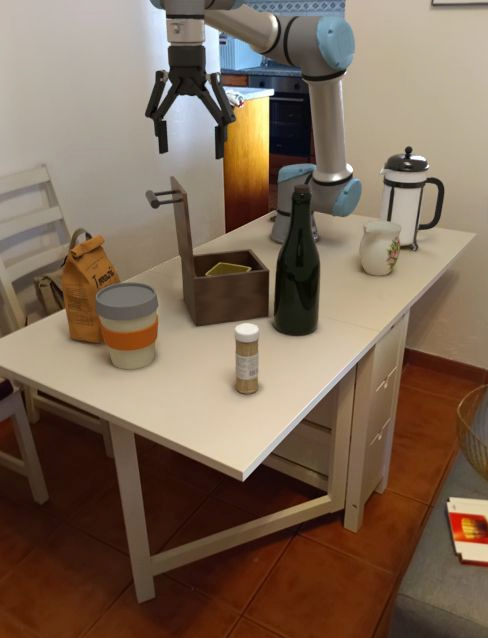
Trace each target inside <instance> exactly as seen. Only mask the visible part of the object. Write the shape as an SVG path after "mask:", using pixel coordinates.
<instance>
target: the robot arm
mask: <svg viewBox="0 0 488 638" xmlns="http://www.w3.org/2000/svg"><path fill="white" fill-rule="evenodd" d="M149 2H150V4H151V5H152V6H153V7H154V8H155V9H158V10H163V11H165V25H166V28H165V29H166V41H167V43H169V44H170V45H168V47H167V64H168V67H169V70H168V71H167V70H165V69H160V70H156V71H155V75H154V76H155V77H154V85H153V86H152V87H153V88H152V91H151V94H150V97H149V100H148V102H147V106H146V109H145V112H144V116H145V118H146V119H151V120H152V121H153V129H154V136H155V137H156V138H157V142H158V154H159V155H164V154H166V153H169V138H168V123H167V122H168V121H167V120H166V119H165V117H166V114H168V111H169V110H170V109H171V107H172V105H173V104H174V103H175V102H176V99H177V98H178V97H179V96H180V97H183V96H189V97H197V99H198V100H200V101H201V103H202V104H203V105H204V107H205V108H206V109H207V111H208V113H209V114H210V116H211V117H212V118H213V119H214V121H215V122H216V124H217V125H215V126H214V146H215V147H214V152H215V153H214V155H215V156H214V157H215V160H216V161H218V160H221V159H223V158H225V143H227V142H228V127H229V125H230V124H233V123H235V122H237V117H236V115H235V112H234V109H233V107H232V105H231V102H230V100H229V98H228V96H227V93H226V90H225V89H224V86H223V82H222V74H221V73H220V71H216V72H211V73H207V70H206V67H207V66H206V65H207V51H206V47H205V45H203V43H205V42H206V26H207V27H210V28H212V29H214V30H216V31H218V32H221V33H223V34H225V35H228V36H229V37H231V38H234V39H236V40H239V41H241V42H242V43H245V44H247V45H248V47H249V48H250V49H251V51H252V52H254V53H257V54H258V55H261V56H262V57H265V58H267V59H269V60H271V61H273V62H276V63H279V64H281V65H284V66H287V67H295V68H300V73H301V79H302V81H304V82H305V83H306V84H308V93H309V100H310V101H309V102H310V103H309V104H310V112H311V113H310V114H311V123H312V132H313V142H314V143H313V144H314V153H315V163H316V164H314V163H296V164H290V165H285V166H282V167H281V168H280V169H279V171H278V177H277V207H274V206H273V207H272V206H271V208H269V211H272V210H273V211H275V212H276V213H277V214H276V215H273V216H270V218H269V220H270V221H272V222H273V225H272V228H271V230H270V231H271V233H270V235H271V236H270V238H271V240H272V241H273V242H275V243H277V244H280V245H282V244H283V242H284V239H285V237H286V234H287V231H288V228H289V223H290V215H291V194H292V191H294V186H295V185H297V184H306V185H309V186H310V191H311V192H312V201H311V226H312V232H313V236H314V240H315V243H316V242H317V241H318V240H319V230H318V226H317V223H316V219H315V212H316V213H321V214H325V215H329V216H332V217H339V218H347V217H349V216H350V215H351V214H352V213H353V212H354V211H355V210H356V208H357V206H358V204H359V202H360V199H361V196H362V191H363V185H362V181H361V180H360V179H359V178H357V177H354V173H353V167H352V165H350V164H349V163H348V160H347V145H346V132H345V116H344V115H345V114H344V99H343V86H342V79H343V78H344V76H346V74H347V71H348V70H347V68H349V67H350V66H351V64H352V63H353V60H354V54H355V52H356V39H355V35H354V31H353V29H352V26H351V25H350V23H349V22H348V21H346V19H345V18H343V17H341V16H333V15H278V14H274V13H272V12H270V11H261V12H260V11H259V10H257V9H255V8H253V7H251V6H249V5H247V4H245V3H246V0H149ZM168 81H169V82H170V84H171V86H170V87H169V89H168V91H167V94H166V95H165V97H164V98H163V100H162V101H161V99H162V97H163V94H164V91H165V88H166V86H167V82H168ZM207 82H208V84H209V85H210V86H211V89H212V92H213V95H214V96H215V99H216V100H214V98H213V97H212V95H211V92H210V90H209V89H208V87H207V86H206V84H207ZM216 101H217V102H216ZM160 102H161V103H160Z"/></svg>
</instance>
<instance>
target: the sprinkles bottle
mask: <svg viewBox="0 0 488 638" xmlns="http://www.w3.org/2000/svg"><path fill="white" fill-rule="evenodd" d="M259 338H260V328H259V326H258V325H256V324H254V323H251V322H250V323H249V322H247V323H245V322H244V323H240V324H238V325H236V326H235V327H234V339H235V389H236V391H237V392H239V393H241V394H246V395H248V394H254V393H255V392H257V391H258V390H259V365H260V363H259V359H260V358H259V356H260V355H259V352H260V351H259Z"/></svg>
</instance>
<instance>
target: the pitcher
mask: <svg viewBox="0 0 488 638" xmlns="http://www.w3.org/2000/svg"><path fill="white" fill-rule="evenodd" d="M362 228H363V235H362V237H361V240H360V243H359V259H360V264H361V266H362V268H363V270H364V271H365V273H367V274H368V275H371V276H375V277H376V276H377V277H380V276H381V277H383V276H386V275H389V273H390V272H391V271H392V270H393V269H394V267H395V266H396V264H397V261H398V259H399V256H400V251H401V246H400V240H399V234H400V232H401V226H400V225H398V224H396V223H393V222H389V221H379V220H371V221H366V222H364V223H363V225H362Z"/></svg>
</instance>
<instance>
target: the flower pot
mask: <svg viewBox="0 0 488 638" xmlns="http://www.w3.org/2000/svg"><path fill="white" fill-rule="evenodd" d="M247 271H251V268H250V267H246V266H240V265H234V264H227V263H218V264H217V265H216V266H214V267H213V268H212V269H211V270H210V271H208V272H207V273H206V274H205V276H213V275H221V274H230V273H239V272H247Z"/></svg>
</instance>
